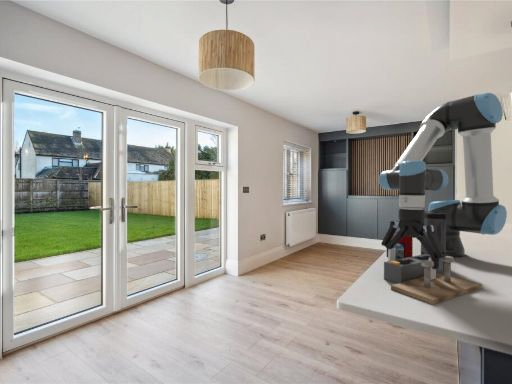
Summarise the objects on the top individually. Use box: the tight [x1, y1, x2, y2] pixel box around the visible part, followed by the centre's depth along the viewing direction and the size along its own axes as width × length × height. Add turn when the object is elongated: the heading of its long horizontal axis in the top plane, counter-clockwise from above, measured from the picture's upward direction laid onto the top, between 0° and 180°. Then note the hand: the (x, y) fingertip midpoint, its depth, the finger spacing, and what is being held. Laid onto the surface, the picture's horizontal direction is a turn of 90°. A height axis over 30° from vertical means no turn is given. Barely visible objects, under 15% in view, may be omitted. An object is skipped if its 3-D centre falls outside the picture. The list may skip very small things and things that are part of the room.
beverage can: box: [391, 232, 414, 260], centre depth 106 cm, size 7×7×12 cm
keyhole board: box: [390, 256, 483, 305], centre depth 82 cm, size 24×12×8 cm, turn 118°
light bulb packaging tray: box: [383, 254, 444, 284], centre depth 93 cm, size 22×6×6 cm, turn 118°
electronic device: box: [420, 210, 446, 271], centre depth 104 cm, size 9×6×20 cm, turn 168°
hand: (410, 273), depth 92 cm, fingers open, 13 cm apart
